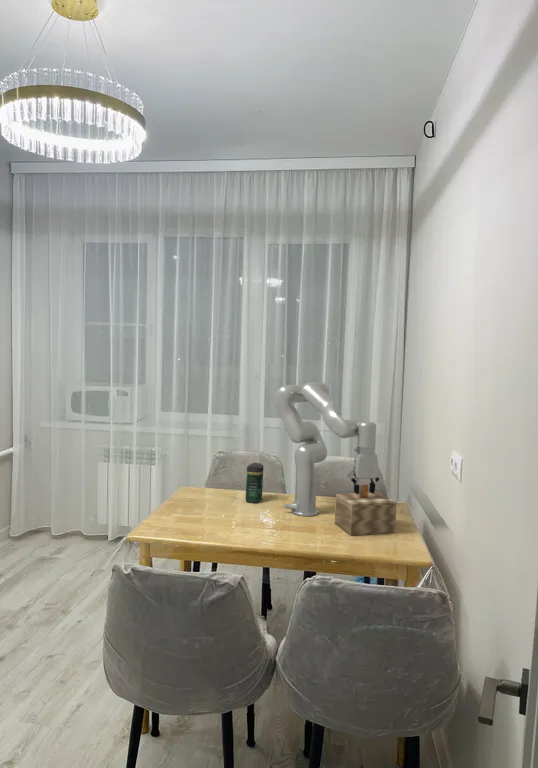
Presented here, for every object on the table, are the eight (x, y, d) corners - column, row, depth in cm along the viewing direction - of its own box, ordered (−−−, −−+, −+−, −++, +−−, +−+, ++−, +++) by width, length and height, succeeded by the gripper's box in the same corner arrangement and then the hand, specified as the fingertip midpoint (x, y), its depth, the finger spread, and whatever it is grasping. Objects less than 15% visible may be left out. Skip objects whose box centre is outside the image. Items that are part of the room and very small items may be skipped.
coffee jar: (259, 504, 251) (261, 465, 250) (243, 502, 253) (245, 464, 252) (263, 499, 261) (265, 462, 260) (248, 497, 262) (249, 461, 261)
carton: (350, 536, 209) (352, 503, 209) (334, 523, 224) (335, 493, 224) (395, 533, 215) (396, 501, 214) (376, 521, 230) (377, 492, 230)
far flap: (343, 500, 216) (344, 486, 216) (335, 495, 224) (336, 482, 224) (386, 498, 222) (387, 485, 222) (377, 494, 230) (378, 481, 229)
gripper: (351, 452, 214) (349, 496, 214) (388, 452, 218) (387, 494, 219) (343, 449, 221) (341, 491, 221) (380, 449, 226) (378, 490, 226)
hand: (364, 492), depth 220 cm, fingers open, 6 cm apart
